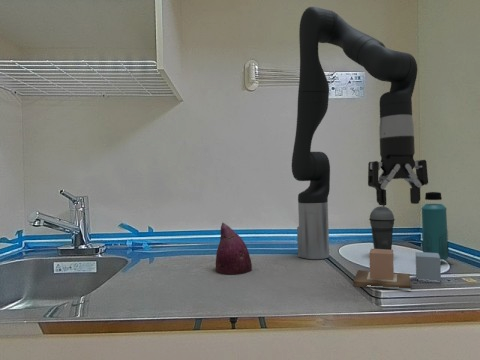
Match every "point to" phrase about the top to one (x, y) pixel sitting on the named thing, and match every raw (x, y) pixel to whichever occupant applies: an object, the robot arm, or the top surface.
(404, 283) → the board
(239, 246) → the vegetable
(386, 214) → the beverage cup
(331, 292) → the top surface
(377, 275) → the terracotta block
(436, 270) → the slate block
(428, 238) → the beverage bottle
